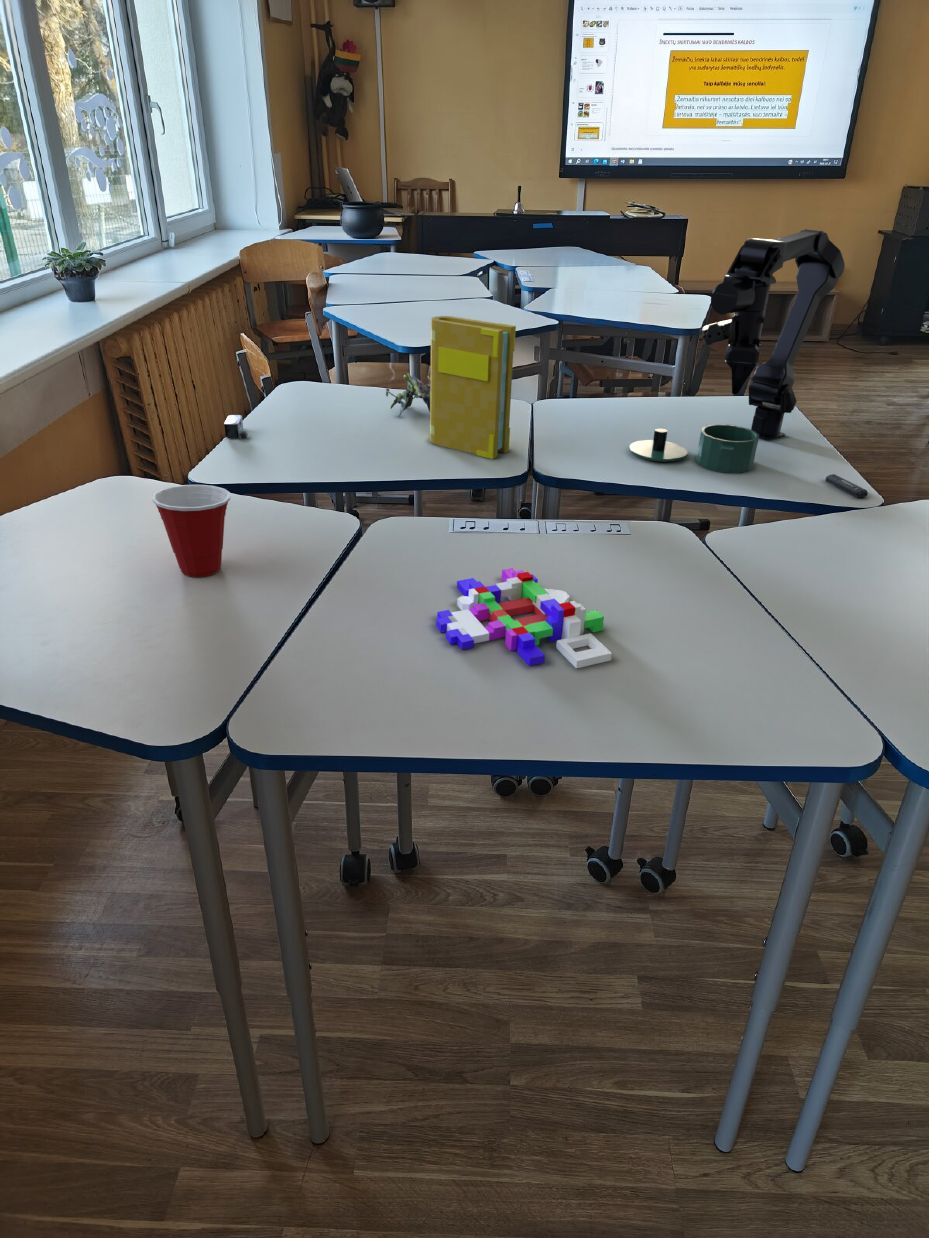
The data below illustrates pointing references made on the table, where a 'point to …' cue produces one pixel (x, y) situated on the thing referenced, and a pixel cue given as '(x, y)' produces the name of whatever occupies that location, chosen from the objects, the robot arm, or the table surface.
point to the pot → (727, 448)
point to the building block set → (524, 619)
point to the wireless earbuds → (234, 427)
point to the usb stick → (847, 486)
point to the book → (471, 384)
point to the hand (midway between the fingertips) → (735, 388)
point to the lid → (658, 448)
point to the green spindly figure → (412, 392)
